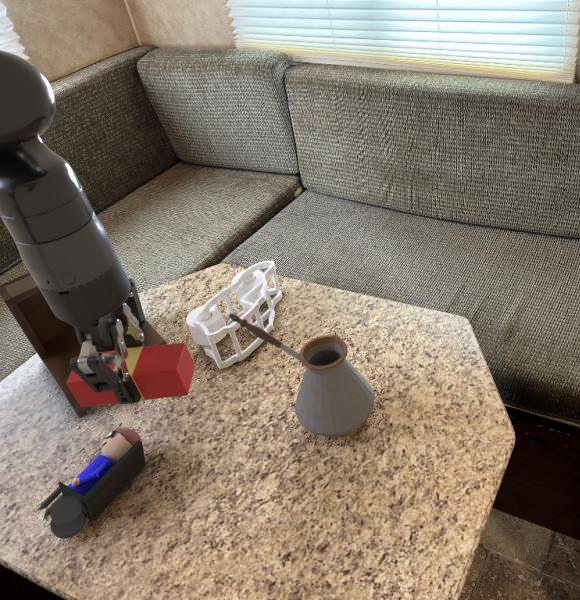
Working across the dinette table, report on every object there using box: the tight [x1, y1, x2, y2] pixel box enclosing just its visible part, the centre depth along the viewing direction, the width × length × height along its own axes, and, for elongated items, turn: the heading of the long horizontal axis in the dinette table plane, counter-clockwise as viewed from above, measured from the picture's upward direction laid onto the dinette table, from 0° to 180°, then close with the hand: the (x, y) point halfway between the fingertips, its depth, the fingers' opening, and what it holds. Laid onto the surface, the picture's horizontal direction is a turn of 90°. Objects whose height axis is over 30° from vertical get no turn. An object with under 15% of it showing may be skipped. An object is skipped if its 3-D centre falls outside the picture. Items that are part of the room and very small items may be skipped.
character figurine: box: [39, 427, 147, 540], centre depth 78 cm, size 8×7×15 cm
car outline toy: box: [185, 259, 283, 370], centre depth 103 cm, size 20×11×7 cm, turn 150°
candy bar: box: [66, 342, 196, 408], centre depth 68 cm, size 12×5×4 cm, turn 94°
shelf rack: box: [0, 271, 168, 419], centre depth 95 cm, size 16×16×17 cm
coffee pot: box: [225, 311, 376, 438], centre depth 85 cm, size 21×12×15 cm, turn 64°
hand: (137, 383), depth 69 cm, fingers closed on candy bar, 4 cm apart
